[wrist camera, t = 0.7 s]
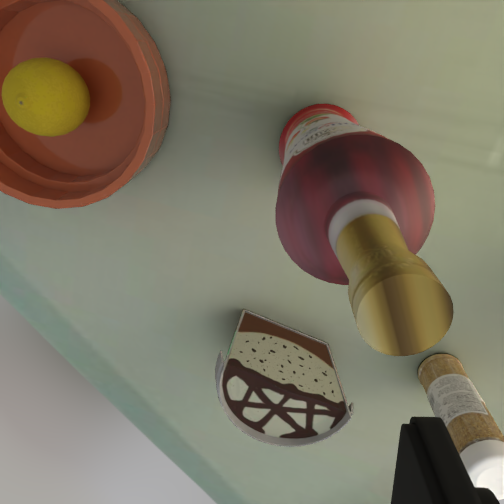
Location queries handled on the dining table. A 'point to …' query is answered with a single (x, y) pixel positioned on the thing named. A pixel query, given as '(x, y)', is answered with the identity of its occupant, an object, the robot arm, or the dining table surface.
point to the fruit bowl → (101, 101)
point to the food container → (280, 384)
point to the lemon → (46, 97)
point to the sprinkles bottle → (465, 420)
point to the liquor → (362, 226)
